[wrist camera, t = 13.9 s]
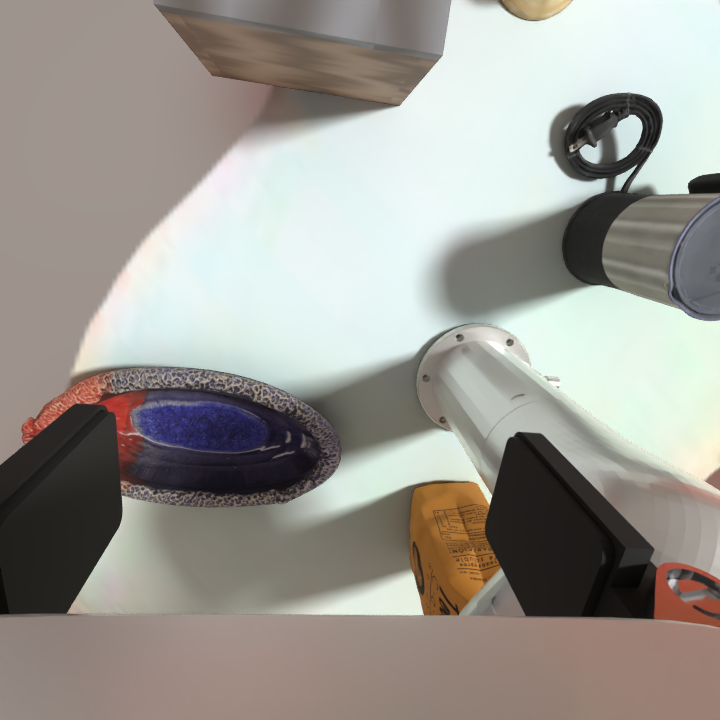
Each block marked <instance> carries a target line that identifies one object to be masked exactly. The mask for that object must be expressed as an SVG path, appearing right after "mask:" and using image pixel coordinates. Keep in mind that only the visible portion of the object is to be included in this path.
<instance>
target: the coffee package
mask: <svg viewBox="0 0 720 720" xmlns="http://www.w3.org/2000/svg"><path fill="white" fill-rule="evenodd" d="M489 507H490V505H489V504H488V502H487V500H486V498H485V497H484V495H483V493H482V491H481V490H480V488H479V486H478V484H476V483H473V482H467V483H445V484H429V485H426V486H423V487H419V488H416V489H415V491H414V493H413V498H412V505H411V515H410V565H411V568H412V570H413V573H414V577H415V580H416V585H417V589H418V592H419V595H420V599H421V605H422V609H423V614H424V615H457V616H459V614H460V612H461V611H462V609H463V608H464V607H465V606H466V604H467V603H468V602H469V601H470V600H471V599H472V597H473V596H474V595H475V594H476V593H477V592H478V591H479V590H480V589H481V588H482V586H483V585H484V584H485V583H486V582H487V581H488V580H489V579H490V578H491V577H492V576H493V575H494V574H495V573H496V572H497V571H498V570H499V569H500V568H501V566H500V564H499V562H498V560H497V558H496V556H495V554H494V553H493V551H492V549H491V547H490V545H489V543H488V541H487V538H486V535H485V522H486V519H487V515H488V511H489Z"/></svg>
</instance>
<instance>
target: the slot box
mask: <svg viewBox="0 0 720 720" xmlns="http://www.w3.org/2000/svg"><path fill="white" fill-rule="evenodd" d="M154 5H155V6H156V7H157V8H158V9H159V11H160V12H161V13H162V14H163V16H164V17H165V18H166V19H167V20H168V22H169V23H170V24H171V25H172V27H173V28H174V29H175V30H176V32H177V33H178V34H179V35H180V36H181V38H182V39H183V40H184V41H185V42H186V44H187V45H188V46H189V48H190V49H191V50H192V51H193V52H194V54H195V55H196V56H197V57H198V58H199V60H200V61H201V62H202V63H203V65H204V66H205V67H206V68H207V70H208V71H209V72H210V73H211V75H213V76H219V77H225V78H231V79H237V80H244V81H249V82H256V83H263V84H268V85H274V86H280V87H287V88H293V89H299V90H305V91H312V92H318V93H324V94H330V95H337V96H343V97H349V98H355V99H361V100H368V101H374V102H380V103H386V104H393V105H399V106H400V105H401V103H402V102H403V101H404V100H405V99H406V98H407V96H408V95H409V94H410V93H411V92H412V91H413V89H414V88H415V87H416V86H417V85H418V84H419V82H420V81H421V80H422V79H423V78H424V77H425V75H426V74H427V73H428V72H429V71H430V70H431V68H432V67H433V66H434V65H435V64H436V63H437V61H438V60H439V59H440V58H441V57H442V56H443V50H444V44H445V37H446V31H447V24H448V18H449V12H450V5H451V0H154Z"/></svg>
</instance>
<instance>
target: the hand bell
mask: <svg viewBox="0 0 720 720" xmlns="http://www.w3.org/2000/svg"><path fill="white" fill-rule="evenodd" d="M501 1H502V3H503V4H504V5H505V6H506V8H507V9H508V10H509V11H511V12H512V13H513V14H515V15H516V16H518V17H521V18H523V19H526V20H544V19H547V18H550V17H552V16H554V15H556V14H558V13H560V12H561V11H562V10H563V9H565V8H566V7H567V6H568V5H569V4H570V3H571V2H572V0H501Z"/></svg>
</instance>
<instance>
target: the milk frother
mask: <svg viewBox="0 0 720 720" xmlns="http://www.w3.org/2000/svg"><path fill="white" fill-rule="evenodd" d="M611 111H613V112H612V113H611ZM604 112H605V113H604ZM602 113H604V115H603V116H601V117H599V118H597V119H595V120H594V121H592V122H590V123H588V122H589V121H590V120H592V119H593V118H594V117H596V116H598V115H600V114H602ZM629 115H636V116H637V117H638V118H640V120H641V122H642V125H643V130H642V134H641V138H640V140H639V142H638V144H637V145H636V147H635V149H634V150H633V151H632V152H631V153H630V154H629V155H628V156H627V157H625V158H623V159H621V160H619V161H617V162H614V163H611V164H604V165H600V164H593V163H591V162H588V161H587V160H585V159H584V158H583V157H582V155H581V154H580V151H579V149H580V148H581V147H582V146H584V145H585V144H588V145H591V146H592V147H594V148H595V147H596V146H597V141H598V140H600V139H601V138H602V137H604V136H605V135H606V134H607V133H608V132H609V131H610V130H611V129H612V128H615V127H617V124H618V122H619V121H621V120H622V119H624V118H627V117H628V116H629ZM587 123H588V124H587ZM586 124H587V125H586ZM662 124H663V117H662V113H661V110H660V108H659V106H658V105H657V104H656V103H655V102H654V101H653V100H652V99H650V98H648V97H646V96H643V95H639V94H633V93H629V92H628V93H617V94H610V95H606V96H603V97H600V98H598V99H596V100H593V101H592V102H590V103H589V104H587V105H586V106H585V107H584V108H582V109H581V110H580V111H579V112H578V113H577V114H576V116H575V117H574V118H573V120H572V121H571V123H570V125H569V126H568V129H567V132H566V136H565V151H566V155H567V158H568V160H569V162H570V163H571V165H572V166H573V167H574V168H575V169H576V170H577V171H578V172H579V173H581V174H582V175H584V176H588V177H591V178H597V179H603V178H610V177H614V176H617V175H619V174H622V173H624V172H626V171H628V170H629V169H631V168H632V167H634V166H635V165H637V164H638V165H637V167H636V168H635V170H634V171H633V173H632V174H631V175H630V176H629V178H628V179H627V180H626V182H625V183H624V185H623V187H622V189H621V191H611V192H606V193H602V194H599V195H597V196H595V197H593V198H592V199H590V200H588V201H587V202H586V203H585V204H583V205H582V206H581V207H580V208H579V209H578V210H577V212H576V213H575V214H574V216H573V217H572V218H571V220H570V222H569V224H568V226H567V228H566V231H565V234H564V239H563V256H564V260H565V264H566V266H567V268H568V269H569V271H570V272H571V273H572V274H573V275H574V276H575V277H576V278H577V279H578V280H580V281H582V282H584V283H587V284H591V285H604V286H608V287H612V288H616V289H619V290H622V291H625V292H628V293H631V294H634V295H637V296H640V297H643V298H647V299H650V300H653V301H656V302H659V303H662V304H665V305H669V306H672V307H675V308H678V309H681V310H683V311H684V312H685V313H686V314H688V315H689V316H691V317H693V318H696V319H699V320H704V321H718V320H720V173H716V174H707V175H702V176H699V177H696V178H695V179H693V180H691V181H690V182H689V183H688V189H689V194H669V195H641V194H629V193H627V192H628V189H629V187H630V185H631V183H632V181H633V180H634V178H635V177H636V175H637V174H638V172H639V171H640V169H641V168H642V166H643V165H644V163H645V162H646V161H647V159H648V157H649V156H650V154H651V153H652V152H653V149H654V148H655V146H656V145H657V143H658V140H659V138H660V135H661V130H662Z"/></svg>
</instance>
